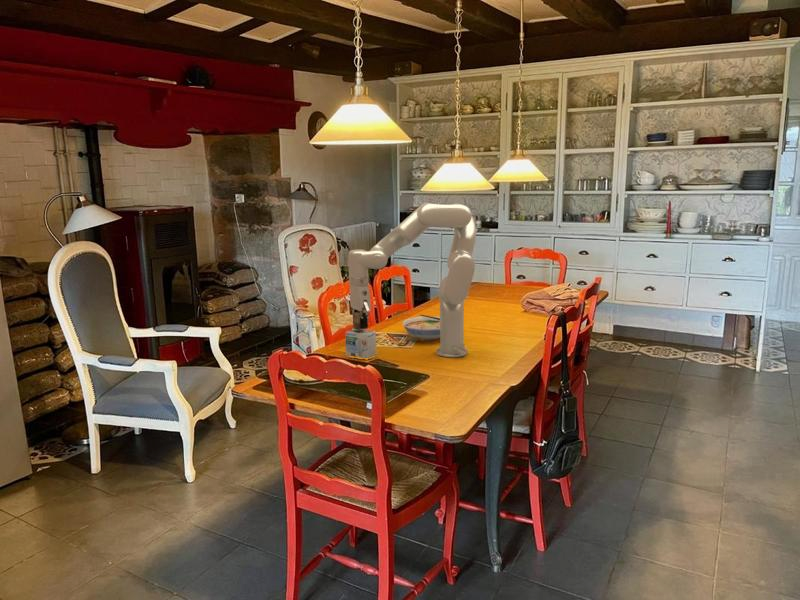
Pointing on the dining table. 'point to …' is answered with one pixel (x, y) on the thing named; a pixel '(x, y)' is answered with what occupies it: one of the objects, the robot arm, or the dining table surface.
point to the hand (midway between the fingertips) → (360, 325)
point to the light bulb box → (361, 343)
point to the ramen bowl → (423, 327)
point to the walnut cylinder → (357, 320)
